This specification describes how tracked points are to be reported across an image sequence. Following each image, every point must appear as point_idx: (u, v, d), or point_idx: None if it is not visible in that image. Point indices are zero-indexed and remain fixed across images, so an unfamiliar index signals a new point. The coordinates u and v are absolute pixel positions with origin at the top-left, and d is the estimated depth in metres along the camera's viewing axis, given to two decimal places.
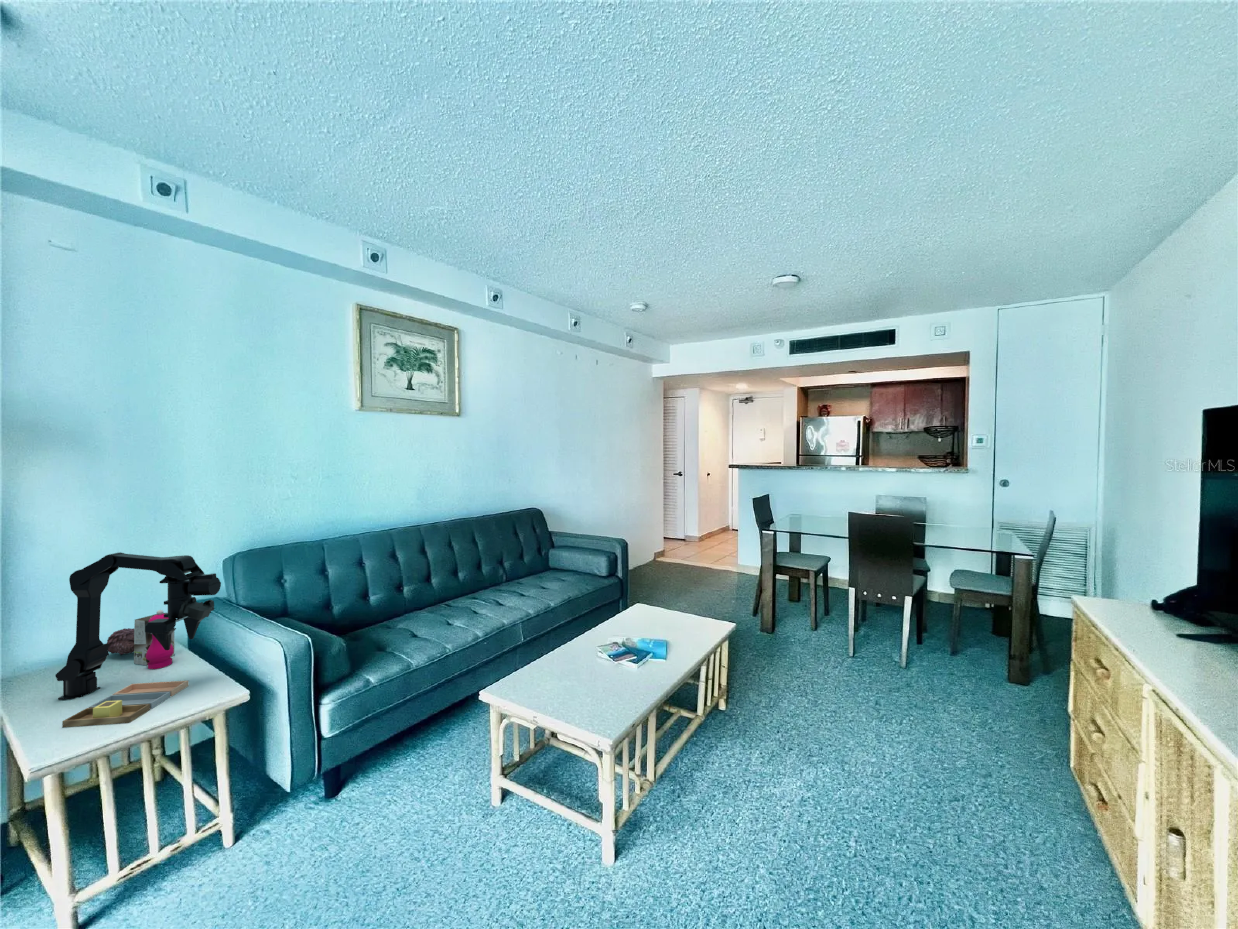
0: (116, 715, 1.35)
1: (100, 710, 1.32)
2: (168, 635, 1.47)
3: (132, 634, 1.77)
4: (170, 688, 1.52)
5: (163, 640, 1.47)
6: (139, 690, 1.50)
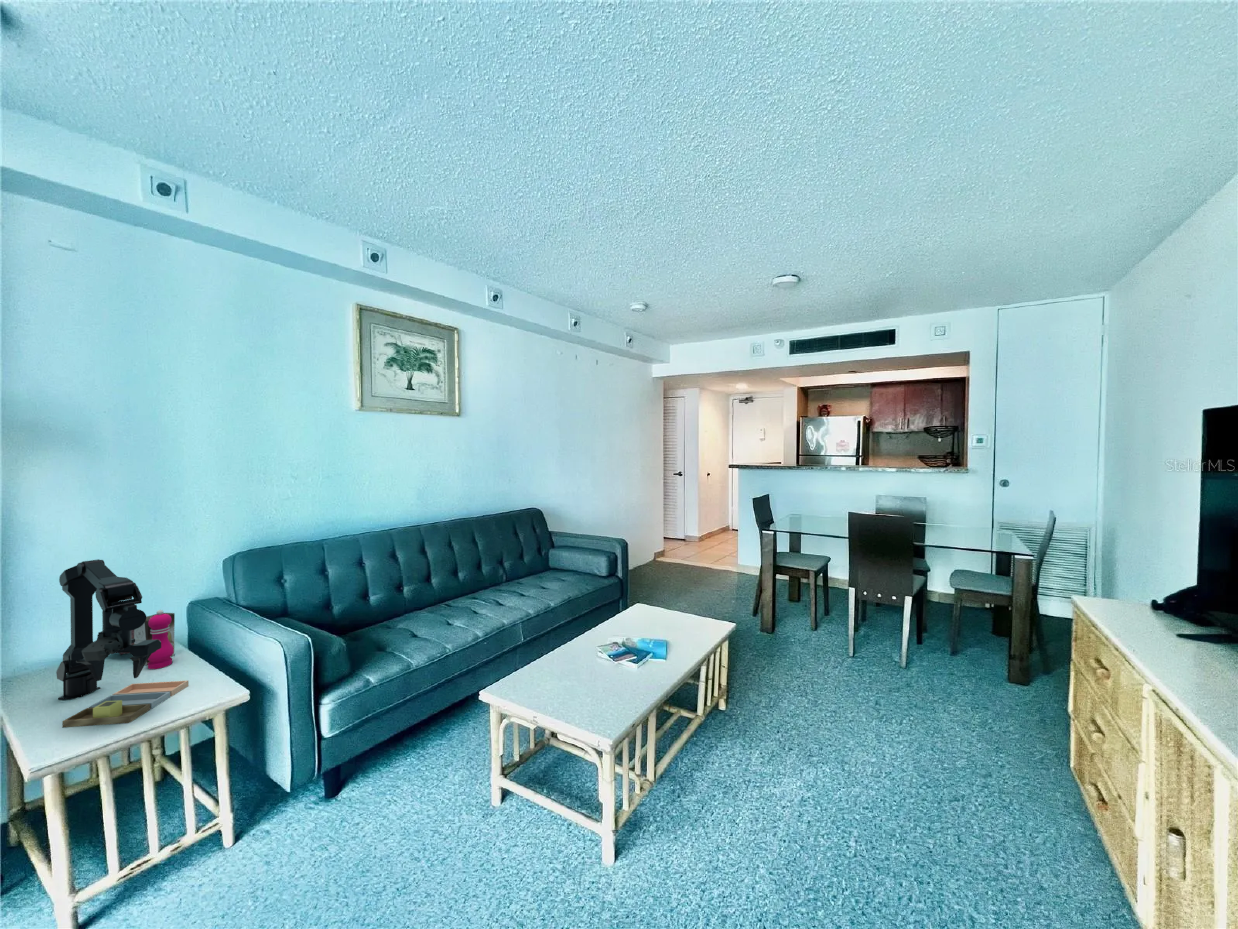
0: (116, 715, 1.35)
1: (100, 710, 1.32)
2: (87, 665, 1.34)
3: (132, 634, 1.77)
4: (170, 688, 1.52)
5: None
6: (139, 690, 1.50)
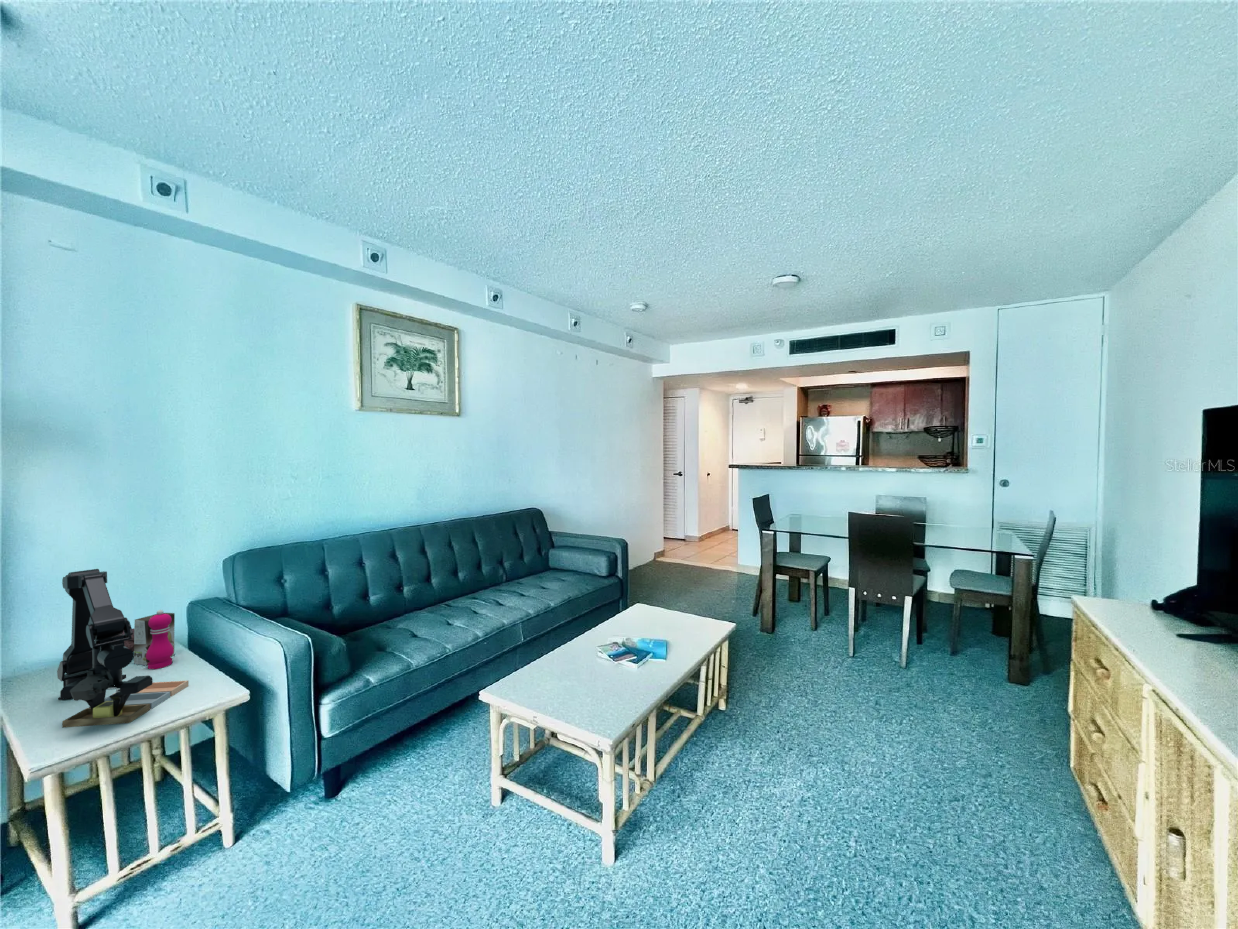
0: None
1: (100, 710, 1.32)
2: (87, 702, 1.32)
3: (132, 634, 1.77)
4: (170, 688, 1.52)
5: None
6: None
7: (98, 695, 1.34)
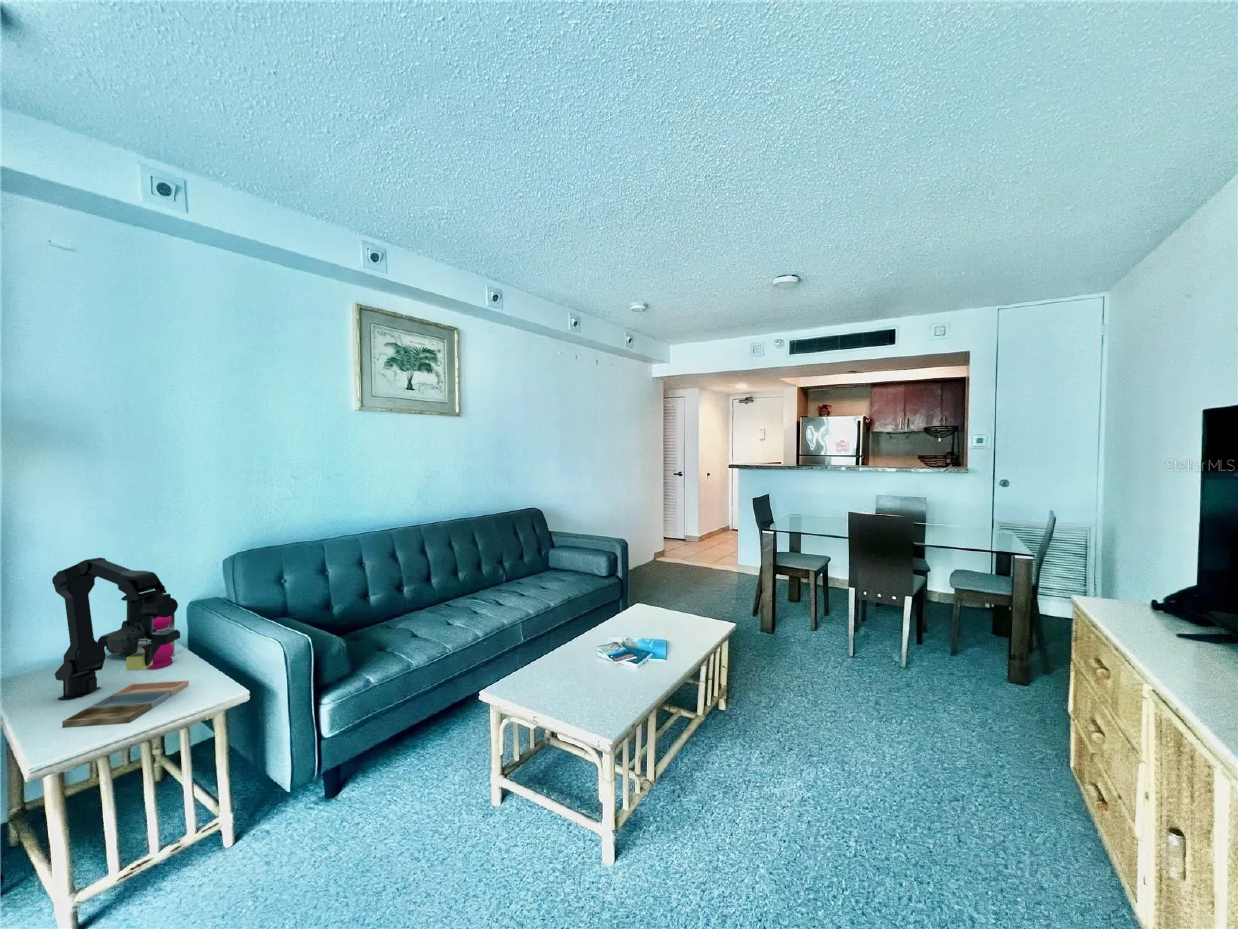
0: None
1: (133, 659, 1.43)
2: (121, 651, 1.43)
3: None
4: (170, 688, 1.52)
5: None
6: (139, 690, 1.50)
7: (131, 646, 1.45)
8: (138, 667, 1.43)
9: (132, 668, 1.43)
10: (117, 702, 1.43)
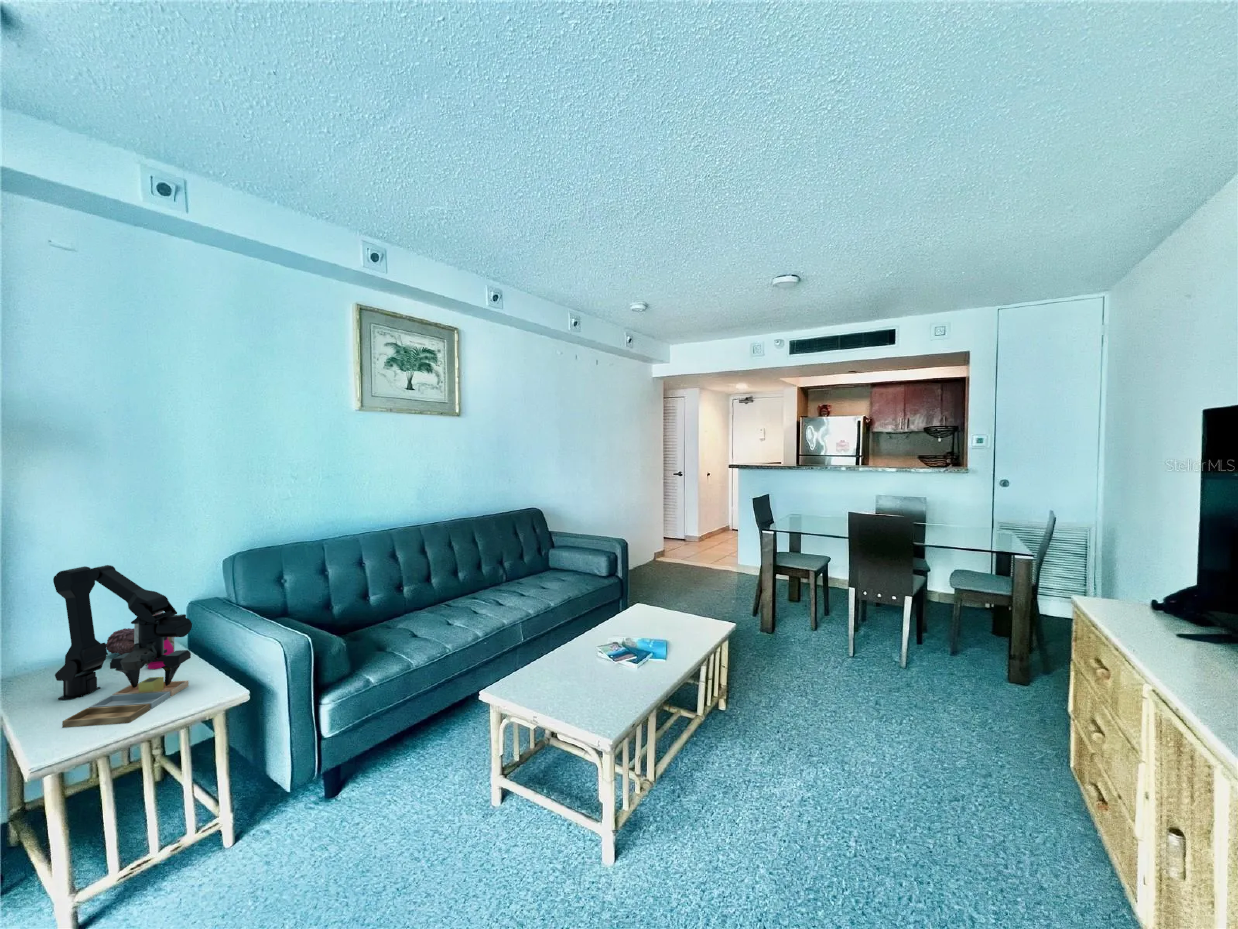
0: (159, 690, 1.49)
1: (145, 685, 1.47)
2: (125, 673, 1.47)
3: (132, 634, 1.77)
4: (170, 688, 1.52)
5: None
6: None
7: None
8: None
9: None
10: (117, 702, 1.43)
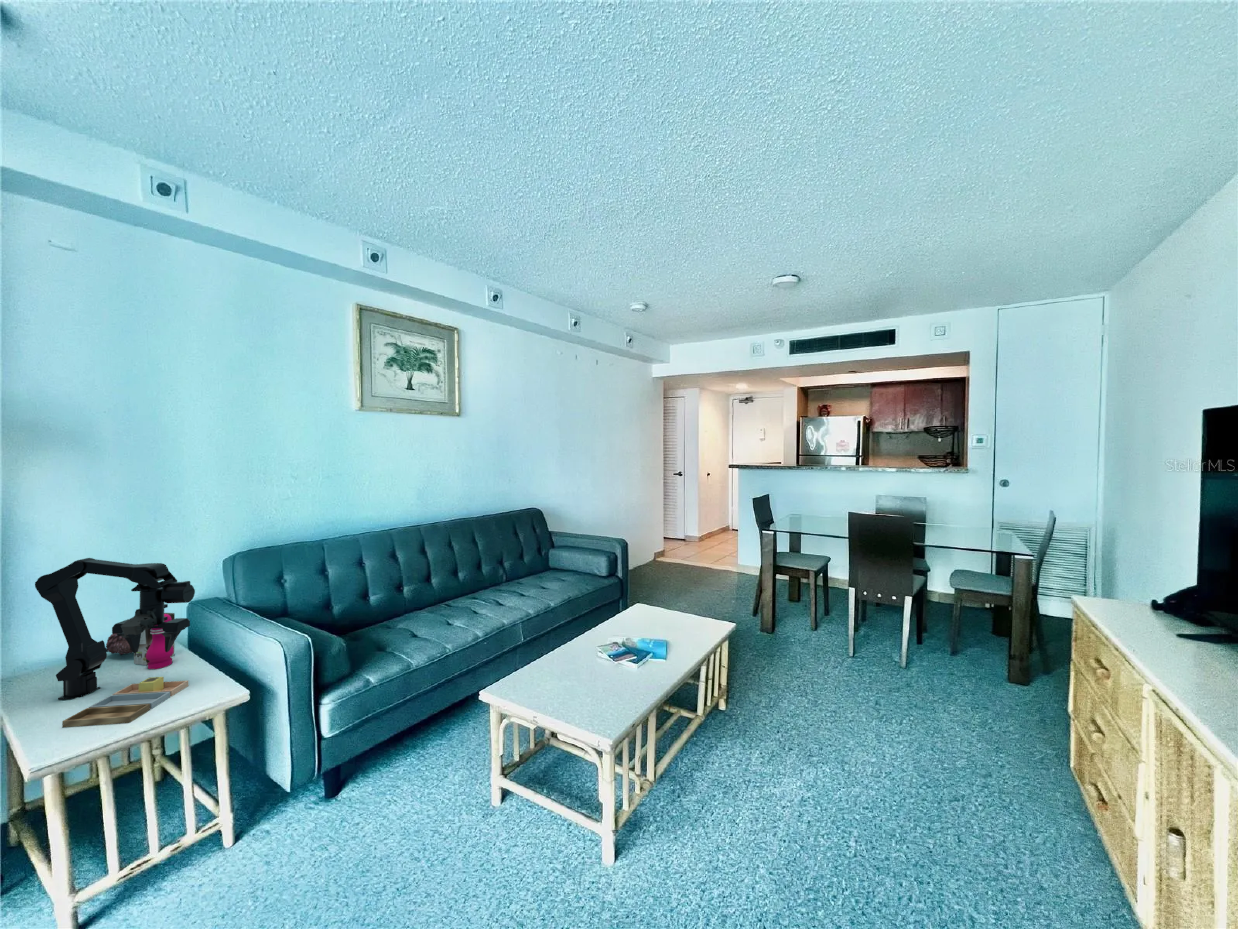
0: (159, 690, 1.49)
1: (145, 685, 1.47)
2: (126, 638, 1.50)
3: None
4: (170, 688, 1.52)
5: None
6: None
7: None
8: None
9: None
10: (117, 702, 1.43)
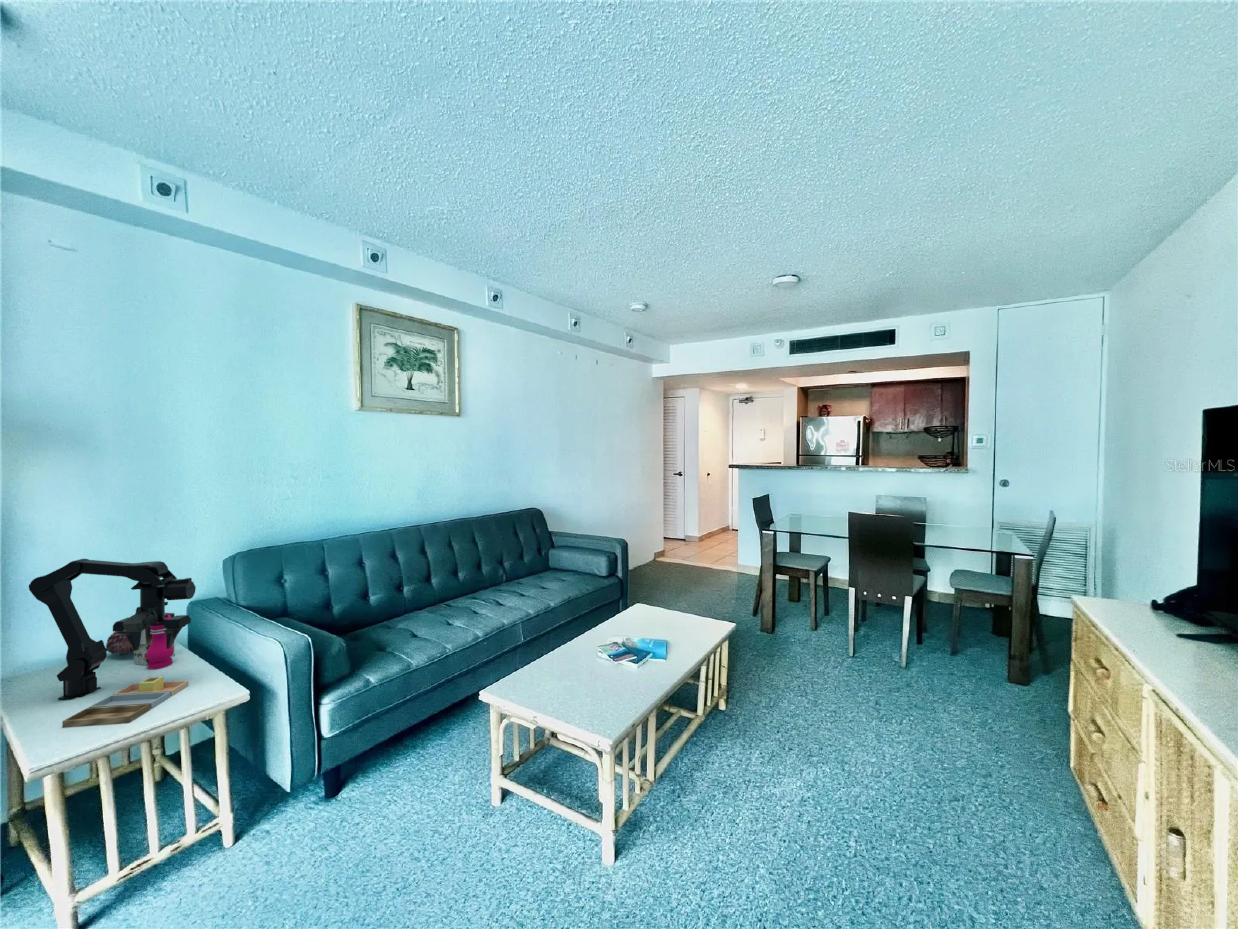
0: (159, 690, 1.49)
1: (145, 685, 1.47)
2: (127, 636, 1.52)
3: None
4: (170, 688, 1.52)
5: None
6: None
7: (136, 631, 1.54)
8: None
9: None
10: (117, 702, 1.43)
